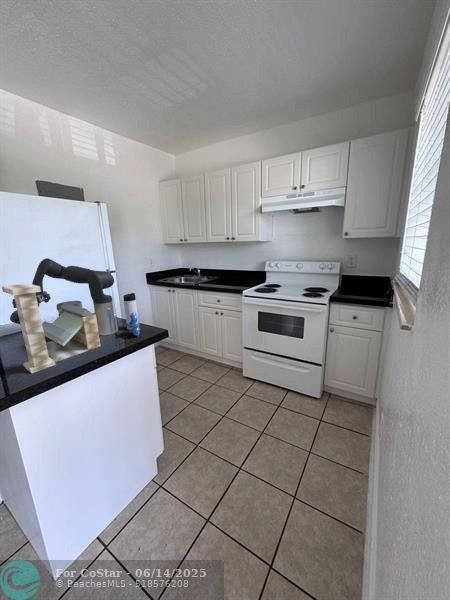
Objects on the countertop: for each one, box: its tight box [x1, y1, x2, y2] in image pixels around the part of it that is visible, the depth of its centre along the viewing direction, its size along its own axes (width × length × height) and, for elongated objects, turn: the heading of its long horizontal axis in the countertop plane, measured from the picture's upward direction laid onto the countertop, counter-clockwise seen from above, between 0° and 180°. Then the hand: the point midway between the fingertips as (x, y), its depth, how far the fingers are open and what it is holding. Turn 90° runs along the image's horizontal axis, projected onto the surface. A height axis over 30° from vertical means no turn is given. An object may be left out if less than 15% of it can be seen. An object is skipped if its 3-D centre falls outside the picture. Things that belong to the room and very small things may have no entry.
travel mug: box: [122, 292, 140, 331], centre depth 135 cm, size 6×7×20 cm
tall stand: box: [1, 283, 57, 374], centre depth 94 cm, size 8×14×32 cm, turn 54°
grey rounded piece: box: [56, 300, 83, 317], centre depth 138 cm, size 13×13×15 cm
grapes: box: [126, 312, 141, 337], centre depth 125 cm, size 12×7×12 cm, turn 30°
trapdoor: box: [44, 303, 94, 346], centre depth 111 cm, size 17×24×4 cm
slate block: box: [42, 321, 71, 342], centre depth 109 cm, size 4×24×3 cm
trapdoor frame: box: [46, 309, 102, 363], centre depth 112 cm, size 18×27×16 cm
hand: (34, 294), depth 112 cm, fingers open, 8 cm apart
